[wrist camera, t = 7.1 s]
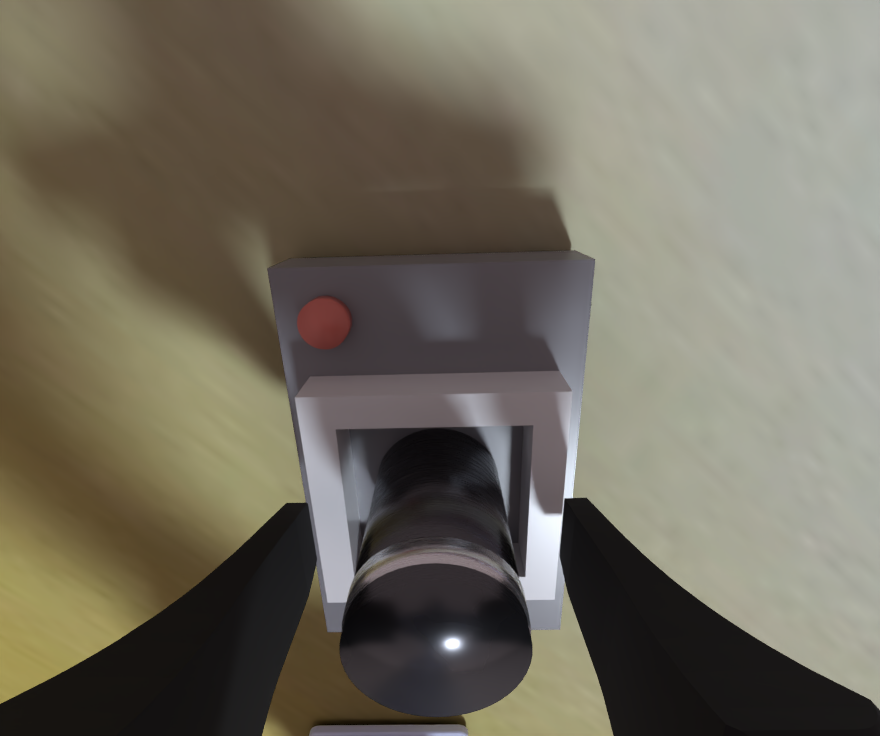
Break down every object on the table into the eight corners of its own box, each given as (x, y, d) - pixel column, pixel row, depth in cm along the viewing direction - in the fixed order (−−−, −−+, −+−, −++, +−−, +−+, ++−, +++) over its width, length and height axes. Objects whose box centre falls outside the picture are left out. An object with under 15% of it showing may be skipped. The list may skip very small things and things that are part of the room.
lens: (488, 537, 16) (513, 726, 10) (371, 524, 16) (332, 709, 10) (510, 435, 14) (554, 591, 9) (382, 419, 14) (342, 568, 9)
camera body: (548, 586, 19) (570, 667, 16) (338, 589, 19) (317, 670, 16) (575, 250, 14) (614, 268, 11) (290, 258, 14) (245, 277, 11)
